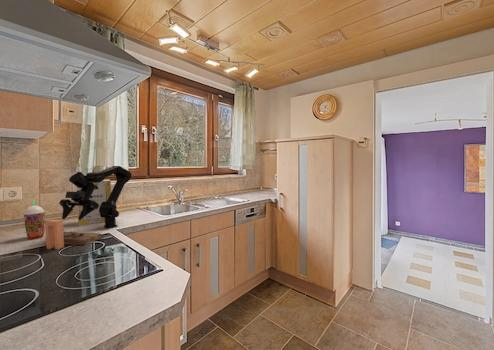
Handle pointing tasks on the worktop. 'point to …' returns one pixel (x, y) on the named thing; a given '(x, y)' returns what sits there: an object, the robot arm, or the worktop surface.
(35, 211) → the smoothie
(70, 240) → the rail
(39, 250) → the worktop surface
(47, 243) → the clip
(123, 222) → the worktop surface
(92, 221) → the pasta box
